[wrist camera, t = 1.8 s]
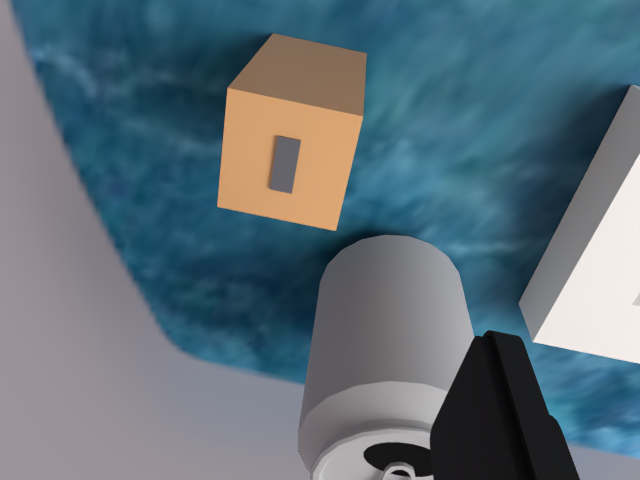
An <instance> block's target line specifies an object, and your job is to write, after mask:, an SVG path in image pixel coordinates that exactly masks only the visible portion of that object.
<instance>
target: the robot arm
mask: <svg viewBox="0 0 640 480" xmlns="http://www.w3.org/2000/svg"><path fill="white" fill-rule="evenodd" d="M430 452H431V461H432V470H433V480H580V479H579V476H578V473H577V470H576V468H575V465H574V462H573V460H572V457H571V454H570V452H569V449H568V446H567V443H566V441H565V438H564V435H563V433H562V430H561V428H560V426H559V424H558V422H557V420H556V419H555V418H554V417H553V416H551V415H549V413H548V410H547V407H546V404H545V401H544V399H543V396H542V393H541V390H540V387H539V385H538V382H537V379H536V376H535V373H534V371H533V368H532V365H531V362H530V359H529V357H528V354H527V351H526V348H525V345H524V343H523V341H522V339H521V338H520V337H519V336H516V335H511V334H506V333H501V332H496V331H491V330H489V331H487V332H486V333H485V334H484V335H483V337H481V336H476V337H474V339H473V340H472V342H471V344H470V347H469V349H468V351H467V353H466V355H465V357H464V359H463V361H462V364H461V366H460V368H459V370H458V372H457V374H456V376H455V378H454V381H453V383H452V385H451V387H450V389H449V391H448V393H447V395H446V397H445V400H444V402H443V404H442V406H441V408H440V410H439V412H438V414H437V417H436V419H435V421H434V423H433V425H432V428H431V432H430Z"/></svg>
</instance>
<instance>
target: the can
mask: <svg viewBox="0 0 640 480" xmlns="http://www.w3.org/2000/svg"><path fill="white" fill-rule="evenodd" d="M473 339H474V335H473V330H472V326H471V322H470V318H469V313H468V309H467V305H466V301H465V296H464V292H463V288H462V284H461V279H460V275H459V272H458V271H457V269H456V268H455V266H454V265H453V263H452V262H451V260H450V259H449V257H448V256H447V255H445V254H444V253H442V252H441V251H440V250H438V249H437V248H436V247H434V246H433V245H432V244H430V243H427V242H424V241H421V240H418V239H415V238H413V237H410V236H398V235H381V236H376V237H371V238H366V239H361V240H360V241H358V242H356V243H354V244H352V245H350V246H348V247H346V248H344V249H342V250H341V251H340V252H339V253H338V254H337V255H336V256H335V257H334V258H333V259H332V260H331V261H330V262H329V263H328V265H327V267H326V269H325V272H324V274H323V276H322V278H321V281H320V287H319V294H318V300H317V307H316V314H315V321H314V328H313V335H312V341H311V348H310V355H309V362H308V369H307V376H306V382H305V390H304V396H303V403H302V410H301V416H300V423H299V431H298V452H299V454H300V456H301V458H302V460H303V462H304V464H305V466H306V468H307V470H308V471H309V472H310V473H311V475H310V477H311V479H310V480H433V470H432V461H431V452H430V432H431V428H432V425H433V423H434V421H435V419H436V417H437V414H438V412H439V410H440V408H441V406H442V404H443V402H444V400H445V397H446V395H447V393H448V391H449V389H450V387H451V385H452V383H453V381H454V378H455V376H456V374H457V372H458V370H459V368H460V366H461V364H462V361H463V359H464V357H465V355H466V353H467V351H468V349H469V347H470V344H471V342H472V340H473Z"/></svg>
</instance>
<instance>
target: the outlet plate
mask: <svg viewBox="0 0 640 480" xmlns="http://www.w3.org/2000/svg"><path fill="white" fill-rule="evenodd" d="M519 306H520V309H521V311H522V314H523V317H524V320H525V322H526V325H527V328H528V330H529V333H530V336H531V338H532V341H533V342H536V343H541V344H546V345H551V346H555V347H560V348H565V349H570V350H575V351H580V352H585V353H590V354H595V355H600V356H605V357H610V358H615V359H620V360H625V361H630V362H635V363H640V86H636V85H631V86H630V88H629V90H628V92H627V94H626V96H625V98H624V100H623V102H622V104H621V106H620V108H619V109H618V111H617V113H616V115H615V117H614V119H613V121H612V123H611V125H610V127H609V129H608V131H607V133H606V135H605V137H604V138H603V140H602V142H601V144H600V146H599V148H598V150H597V152H596V154H595V156H594V158H593V160H592V162H591V164H590V166H589V167H588V169H587V171H586V173H585V175H584V177H583V179H582V181H581V183H580V185H579V187H578V189H577V191H576V193H575V195H574V196H573V198H572V200H571V202H570V204H569V206H568V208H567V210H566V212H565V214H564V216H563V218H562V220H561V222H560V224H559V226H558V227H557V229H556V231H555V233H554V235H553V237H552V239H551V241H550V243H549V245H548V247H547V249H546V251H545V253H544V255H543V256H542V258H541V260H540V262H539V264H538V266H537V268H536V270H535V272H534V274H533V276H532V278H531V280H530V282H529V284H528V285H527V287H526V289H525V291H524V293H523V295H522V297H521V299H520V301H519Z"/></svg>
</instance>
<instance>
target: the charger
mask: <svg viewBox="0 0 640 480" xmlns="http://www.w3.org/2000/svg"><path fill="white" fill-rule="evenodd" d="M366 54H367V53H363V52H358V51H354V50H349V49H344V48H340V47H335V46H330V45H326V44H321V43H316V42H312V41H307V40H302V39H298V38H293V37H288V36H284V35H279V34H274V33H273V34H272V35H271V37H270V38H269V39H268V40H267V41H266V42H265V44H264V45H263V46H262V47H261V48H260V50H259V51H258V52H257V53H256V54H255V56H254V57H253V58H252V59H251V60H250V62H249V63H248V64H247V65H246V66H245V68H244V69H243V70H242V71H241V72H240V74H239V75H238V76H237V77H236V78H235V80H234V81H233V82H232V83H231V84H230V85H229V87H228V88H227V100H226V111H225V123H224V135H223V146H222V158H221V170H220V181H219V193H218V204H217V207H221V208H226V209H231V210H236V211H240V212H245V213H250V214H255V215H260V216H265V217H270V218H275V219H279V220H284V221H289V222H294V223H299V224H304V225H309V226H314V227H318V228H323V229H328V230H333V231H336V228H337V224H338V220H339V216H340V212H341V208H342V203H343V199H344V195H345V191H346V187H347V182H348V178H349V174H350V170H351V166H352V161H353V157H354V153H355V149H356V145H357V140H358V136H359V132H360V128H361V124H362V120H363V111H364V92H365V73H366Z"/></svg>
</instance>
